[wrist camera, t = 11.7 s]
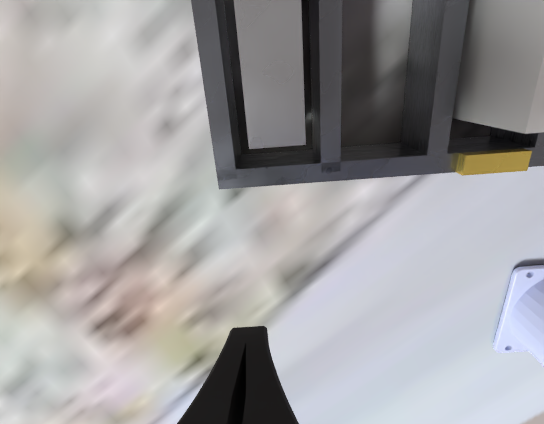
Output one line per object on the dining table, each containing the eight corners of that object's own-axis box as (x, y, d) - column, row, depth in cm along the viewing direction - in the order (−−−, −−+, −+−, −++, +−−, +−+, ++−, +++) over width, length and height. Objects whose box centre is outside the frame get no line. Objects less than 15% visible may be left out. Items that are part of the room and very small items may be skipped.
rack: (577, -194, 14) (789, -382, 8) (503, 150, 19) (596, 179, 14) (183, -155, 14) (126, -310, 8) (227, 171, 20) (210, 207, 14)
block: (515, -111, 15) (708, -260, 8) (477, 111, 19) (588, 128, 12) (463, -106, 15) (614, -250, 8) (436, 114, 19) (525, 133, 12)
